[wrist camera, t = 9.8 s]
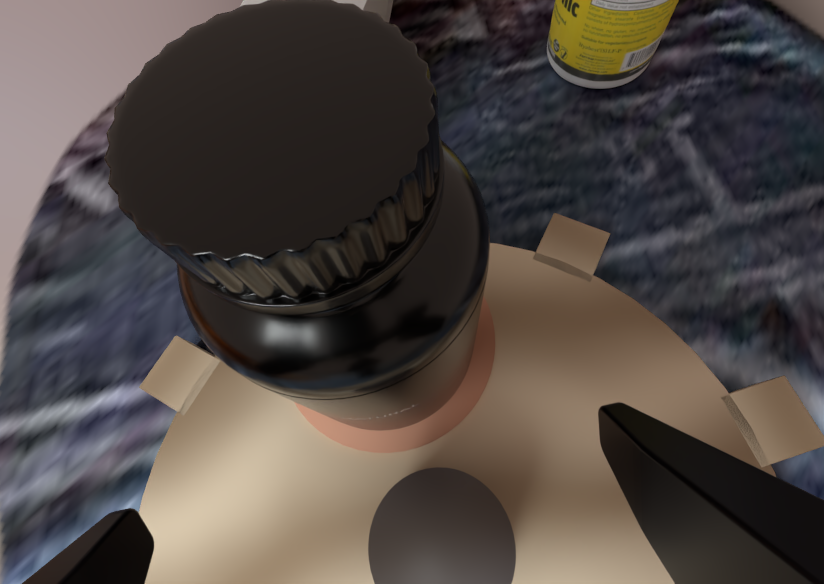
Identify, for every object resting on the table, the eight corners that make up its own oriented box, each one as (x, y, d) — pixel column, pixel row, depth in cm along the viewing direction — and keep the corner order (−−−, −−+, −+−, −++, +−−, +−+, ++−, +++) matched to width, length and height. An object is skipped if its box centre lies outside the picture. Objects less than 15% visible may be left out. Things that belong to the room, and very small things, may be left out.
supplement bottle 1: (363, 474, 16) (124, 482, 4) (270, 327, 18) (-36, 96, 7) (514, 356, 17) (624, 122, 5) (406, 232, 19) (331, -104, 8)
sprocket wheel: (1080, 903, 12) (1430, 1148, 7) (116, 1264, 11) (-94, 1751, 7) (613, 150, 21) (650, 73, 17) (93, 317, 21) (2, 280, 17)
